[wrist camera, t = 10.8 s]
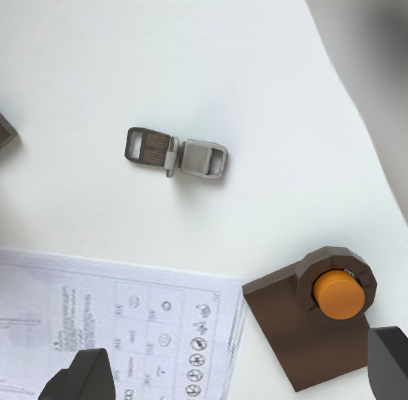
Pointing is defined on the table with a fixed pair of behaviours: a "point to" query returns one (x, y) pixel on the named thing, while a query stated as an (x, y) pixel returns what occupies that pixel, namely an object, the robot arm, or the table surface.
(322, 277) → the light button
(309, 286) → the switch block
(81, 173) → the table surface
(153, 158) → the strap clip
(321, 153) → the table surface
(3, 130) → the lever stand
